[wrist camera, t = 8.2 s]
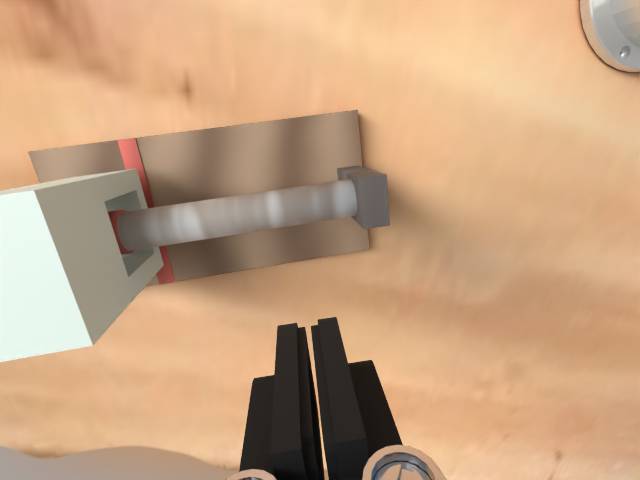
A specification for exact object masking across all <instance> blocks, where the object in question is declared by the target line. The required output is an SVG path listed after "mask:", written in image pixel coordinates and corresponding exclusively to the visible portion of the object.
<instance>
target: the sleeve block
mask: <svg viewBox="0 0 640 480" xmlns="http://www.w3.org/2000/svg"><path fill="white" fill-rule="evenodd" d="M147 208H148V207H147V204H146V200H145V197H144V193H143V189H142V186H141V182H140V179H139V175H138V172H137V169H130V170H122V171H115V172H107V173H100V174H93V175H85V176H78V177H71V178H66V179H61V180H55V181H50V182H45V183H39V184H34V185H29V186H23V187H18V188H13V189H7V190H2V191H0V362H2V361H8V360H14V359H20V358H25V357H31V356H37V355H42V354H48V353H54V352H59V351H65V350H71V349H76V348H82V347H88V346H93V345H94V344H95V343H96V341H97V340H98V339H99V338H100V337H101V336H102V335H103V334H104V332H105V331H106V330H107V329H108V328H109V327H110V326H111V324H112V323H113V322H114V321H115V320H116V319H117V318H118V317H119V315H120V314H121V313H122V312H123V311H124V310H125V309H126V307H127V306H128V305H129V304H130V303H131V302H132V301H133V300H134V298H135V297H136V296H137V295H138V294H139V293H140V292H141V290H142V289H143V288H144V287H145V286H146V285H147V284H148V282H149V281H150V280H151V279H152V278H153V277H154V276H155V275H156V273H157V272H158V271H159V270H160V269H161V268H162V267H163V265H164V264H163V260H162V256H161V253H160V249H159V246H158V247H152V248H145V249H139V250H135V251H134V252H133V253H129V254H122V255H121V253H120V249H119V246H118V243H117V240H116V237H115V234H114V231H113V228H112V224H111V221H110V218H109V215H108V211H115V210H122V209H124V210H126V211H133V210H140V209H147Z"/></svg>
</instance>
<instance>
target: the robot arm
mask: <svg viewBox="0 0 640 480" xmlns="http://www.w3.org/2000/svg"><path fill="white" fill-rule="evenodd" d="M580 13H581V19H582V24H583V29H584V31H585V34H586V36H587V39H588V42H589V44H590V45H591V47H592V48H593V50H594V51H595V53H596V54H597V55H598V56H599V57H600V58H601V59H602V60H603V61H604V62H605V63H607V64H609V65H611V66H612V67H614V68H616V69H619V70H623V71H627V72H640V0H580ZM311 332H312V341H313V350H314V360H315V369H316V378H317V388H318V397H319V406H320V416H321V425H322V434H323V442H324V450H325V457H326V463H327V470H328V476H329V480H446V478H445V476H444V475H443V473H442V472H441V470H440V468H439V467H438V466H437V465H436V463H435V462H434V461H433V460H432V459H431V458H430V457H429V456H427V455H426V454H425V453H423V452H422V451H420V450H418V449H415V448H413V447H410V446H404V445H403V444H402V442H401V439H400V436H399V433H398V430H397V428H396V425H395V422H394V419H393V416H392V414H391V411H390V408H389V405H388V402H387V400H386V397H385V394H384V391H383V388H382V386H381V383H380V380H379V377H378V375H377V372H376V369H375V366H374V364H373V361H372V360H368V361H361V362H355V363H349V364H348V362H347V358H346V354H345V350H344V346H343V342H342V338H341V334H340V330H339V326H338V322H337V318H336V317H333V318H326V319H319V320H318V325H314V326H311ZM226 480H325V479H324V468H323V458H322V448H321V438H320V428H319V418H318V409H317V401H316V395H315V388H314V382H313V375H312V369H311V362H310V356H309V349H308V343H307V336H306V330H305V327H301V328H298V325H297V323H293V324H286V325H280V326H278V328H277V344H276V360H275V375H272V376H266V377H259V378H254V380H253V383H252V389H251V396H250V403H249V409H248V416H247V423H246V430H245V436H244V443H243V450H242V457H241V464H240V470H239V472H238V473H236V474H234V475H232V476H230V477H228V478H227V479H226Z"/></svg>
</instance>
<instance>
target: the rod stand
mask: <svg viewBox="0 0 640 480" xmlns="http://www.w3.org/2000/svg"><path fill="white" fill-rule="evenodd" d="M28 153H29V156H30V158H31V161H32V164H33V166H34V169H35V172H36V174H37V177H38V180H39V182H40V183H45V182H50V181H55V180H61V179H66V178H71V177H78V176H85V175H93V174H100V173H107V172H115V171H122V170H130V169H137V172H138V175H139V179H140V182H141V186H142V189H143V193H144V197H145V200H146V204H147V207H148V208H147V209H140V210H133V211H126V210H124V209H122V210H115V211H108V215H109V218H110V221H111V224H112V228H113V231H114V234H115V237H116V240H117V243H118V246H119V249H120V253H121V255H122V254H129V253H133V252H134V251H135V250H139V249H145V248H152V247H158V246H159V249H160V253H161V256H162V260H163V264H164V265H163V267H162V268H161V269H160V270H159V271H158V272H157V273H156V275H155V276H154V277H153V278H152V279H151V280H150V281H149V282H148V284H147V285H146V286H150V285H156V284H165V283H171V282H175V281H181V280H187V279H193V278H199V277H205V276H211V275H217V274H224V273H230V272H236V271H242V270H248V269H254V268H260V267H266V266H272V265H279V264H285V263H291V262H297V261H303V260H309V259H315V258H321V257H327V256H334V255H340V254H346V253H352V252H358V251H364V250H370V249H369V237H368V228H375V227H381V226H387V225H390V220H389V205H388V190H387V175H386V174H383V173H380V172H376V171H373V170H370V169H367V168H364V167H362V156H361V145H360V133H359V121H358V110H352V111H345V112H337V113H329V114H321V115H313V116H305V117H297V118H289V119H282V120H274V121H266V122H258V123H250V124H242V125H234V126H226V127H219V128H211V129H203V130H195V131H187V132H179V133H171V134H163V135H155V136H148V137H140V138H131V139H123V140H116V141H108V142H100V143H92V144H85V145H77V146H69V147H61V148H53V149H45V150H37V151H29V152H28Z"/></svg>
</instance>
